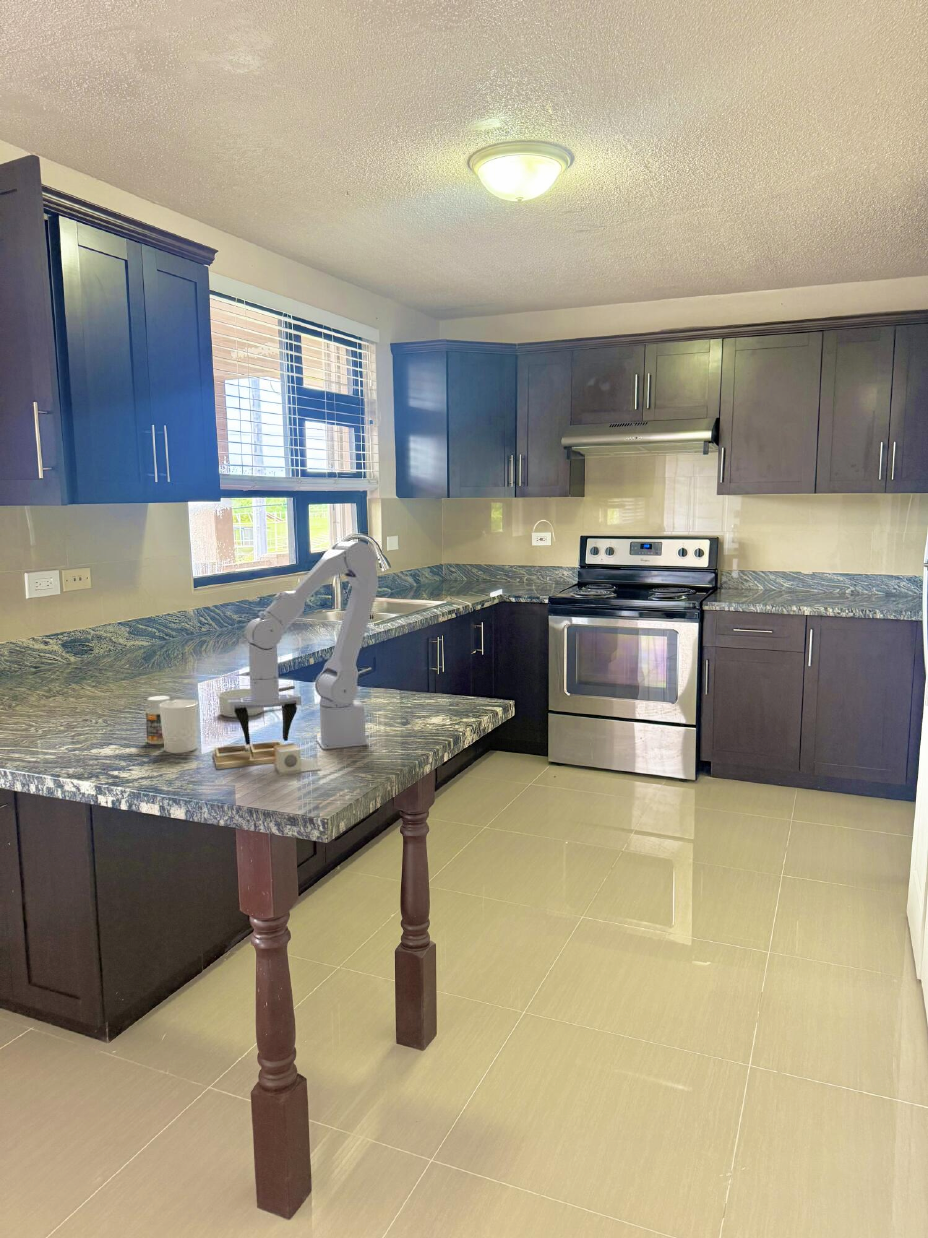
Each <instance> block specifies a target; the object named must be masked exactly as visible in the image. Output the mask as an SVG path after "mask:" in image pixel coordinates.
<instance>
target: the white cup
mask: <svg viewBox="0 0 928 1238" xmlns="http://www.w3.org/2000/svg"><path fill="white" fill-rule="evenodd" d="M159 708H160V718H161V727H162V735H163V739H164V744H163V748H164V751H165V752H167V753H171V754H182V753H188V752H192V751H195V750H196V749H197V748H198V736H199V701H197V700H194V699H175V700H174V699H173V700H170V701H167V702H164V703H161V704H160V705H159Z"/></svg>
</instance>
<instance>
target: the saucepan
mask: <svg viewBox="0 0 928 1238" xmlns="http://www.w3.org/2000/svg"><path fill="white" fill-rule="evenodd" d="M295 689H296V686H294V685H290V686H289V685H288V686H284V687H279V693H280V692H281V693H282V692H287V691H291V690H295ZM217 696H218V701H219V703H218V704H219V714H220V715H222V716H225V717H227V718H237V716H236V714H235V712H234V711H229V707H228V700H235V699H242V698H248V697H251V694H250V688H234V689H229V690H224V691H220V692H218V693H217ZM264 708H265V707H264ZM264 708H253V709H247V711H248V715H249V717H253V716H257V715H259V714H260V713H263V712H264V710H265V709H264Z"/></svg>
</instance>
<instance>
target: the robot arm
mask: <svg viewBox="0 0 928 1238" xmlns="http://www.w3.org/2000/svg"><path fill="white" fill-rule="evenodd" d="M377 561H378V557H377V556H376V554H375V552H374V551H373V549H372V548H371V546H370V545H369V544H367V543H366V542H363V541H357V542H356V541H355V542H354V541H348V540H347V541H346V540H340V541H337V542H336V543H335V544H334V545H332V547H331V548H330V549H328V550H327V551H325V552H324V554H323V555H322V556H321V558H320V559H319V560H318V562H317V563H316V564H314V566H313V567H312V568H311V570H309V572H308V573H307V574H306V575H305V576H304V577H303V579H302V580H301V581H300V582H299V583H298V584H297V586H295V588H293V590H284V591H283V592H282V593H280V592H278V593H276V595H274V597H273V599H274V601H273V602H271V604H270V605H268V607H266V609H265V610H264V611H260V612H259V613H258V614H257V615H258V616H259V617H257V618H254V619H252V620H251V621H249V622H248V624H247V625H246V627H245V628H246V629H245V630H244V632H243V636H244V637H243V638H244V639H245V641H246V642H247V643H248V661H249V662H248V663H249V667H248V668H249V686H250V687H249V689H250V694H251V697H248V698H242V699H235V700H228V707H229V711H234V712H235V714H236V716H237V717H236V718H237V720H238V721H239V724H240V727H241V728H242V733H243V736H244V740H245V741H244V742H245V744H246V745H247V746H249V745H250V744H251V740H250V739H251V737H250V730H249V728H250V727H249V726H250V725H249V723H250V721H249V718H250V716H249V715H248V711H247V709H253V708H271V707H272V708H273V707H276V708H277V707H281V714H282V739H283V741H284V742H288V741H289V735H290V734H289V733H290V729H291V727H292V726H291V725H292V723H293V720H294V717H295V716H296V714H297V711H298V706H301V705H302V696H301V695H300V694H299V693H298V694H297V693H296V694H280V692H279V688H280V684H279V683H280V682H279V664H278V663H279V661H278V660H279V659H278V658H279V656H278V644H279V643H280V642H281V640H282V635H283V632H285V631H286V630H287V629H288V628H289V626H291V625H292V623H294V622H295V621H296V619H297V618H299V616H300V615H301V614H302V613H303V612H304V611H305V602H306V601H307V600H308V599H309V598H310V597H311V596H312V595H313V594H314V593H315V592H316V591H318V590H319V589H320V588H321V587H322V586H323V585H324V584H325V583H326V582H327V581H328V580H330V578H332V577H335V576H339V575H344V576H345V578H346V579H347V581H348V582H349V584H350V586H351V591H350V595H349V598H348V601H347V605H346V608H345V611H344V614H343V617H342V621H341V625H340V629H339V632H338V635H337V637H336V641H335V644H334V645H335V646H334V648H333V651H332V656H331V657H330V658H328V660H327V661H326V662H325V663H324V665H323V669H322V670H321V672H320V673H319V674H318V675H317V676H316V679H315V682H314V688H315V691H316V694H317V695H318V696H320V700H319V718H320V719H319V722H320V723H319V727H320V737H317V738H316V739H315V740H316V742H317V744H318V745H319V746H320V747H321V749H322V750H330V749H331V750H332V749H333V750H334V749H343V748H351V747H360V746H366V745H367V742H366V739H367V738H366V714H365V712H366V711H365V708H364V704H363V702H361V701H355V699H356V698H357V695H358V692H359V690H358V689H359V688H358V678H359V671H358V667H357V659H358V657H359V653H360V650H361V647H362V644H363V639H364V637H365V633H366V630H367V628H368V627H367V626H368V623H369V620H370V617H371V614H372V611H373V606H374V603H375V600H376V596H377V593H378V589H379V586H380V585H379V579H378V578H379V577H378V572H377V565H376V563H377Z"/></svg>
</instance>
